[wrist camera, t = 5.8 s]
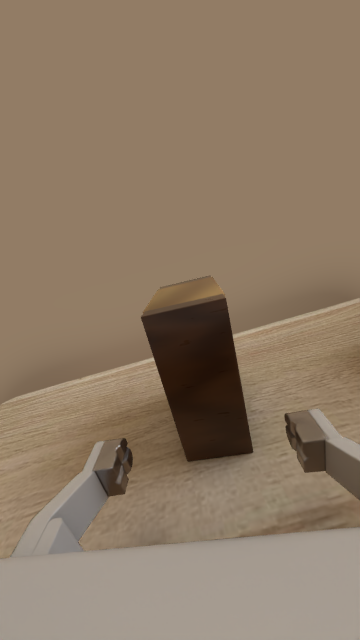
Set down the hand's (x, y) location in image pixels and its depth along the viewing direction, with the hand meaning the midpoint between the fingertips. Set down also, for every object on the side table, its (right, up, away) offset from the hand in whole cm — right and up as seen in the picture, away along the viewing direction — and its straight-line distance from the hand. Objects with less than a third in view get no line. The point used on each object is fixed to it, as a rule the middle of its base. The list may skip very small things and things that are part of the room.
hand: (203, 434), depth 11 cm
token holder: (+2, -3, +9) cm, 10 cm away
